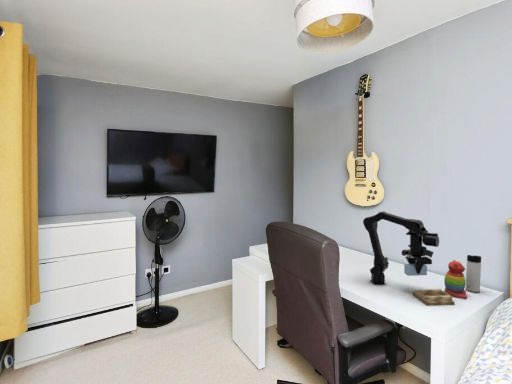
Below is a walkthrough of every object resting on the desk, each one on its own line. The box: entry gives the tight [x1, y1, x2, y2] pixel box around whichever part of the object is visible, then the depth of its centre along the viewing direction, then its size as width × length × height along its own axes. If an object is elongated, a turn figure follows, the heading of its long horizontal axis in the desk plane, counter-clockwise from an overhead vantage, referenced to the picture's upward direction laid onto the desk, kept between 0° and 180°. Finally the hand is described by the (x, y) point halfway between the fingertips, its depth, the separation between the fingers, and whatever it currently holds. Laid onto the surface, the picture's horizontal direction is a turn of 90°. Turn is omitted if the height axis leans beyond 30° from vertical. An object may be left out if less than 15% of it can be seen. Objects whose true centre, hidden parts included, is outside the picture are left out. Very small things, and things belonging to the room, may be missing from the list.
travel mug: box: [465, 254, 482, 294], centre depth 159 cm, size 6×7×20 cm
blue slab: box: [403, 263, 428, 277], centre depth 157 cm, size 10×4×6 cm, turn 90°
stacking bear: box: [443, 259, 468, 300], centre depth 155 cm, size 11×10×18 cm
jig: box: [412, 288, 455, 307], centre depth 150 cm, size 14×12×4 cm
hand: (415, 272), depth 157 cm, fingers closed on blue slab, 4 cm apart
